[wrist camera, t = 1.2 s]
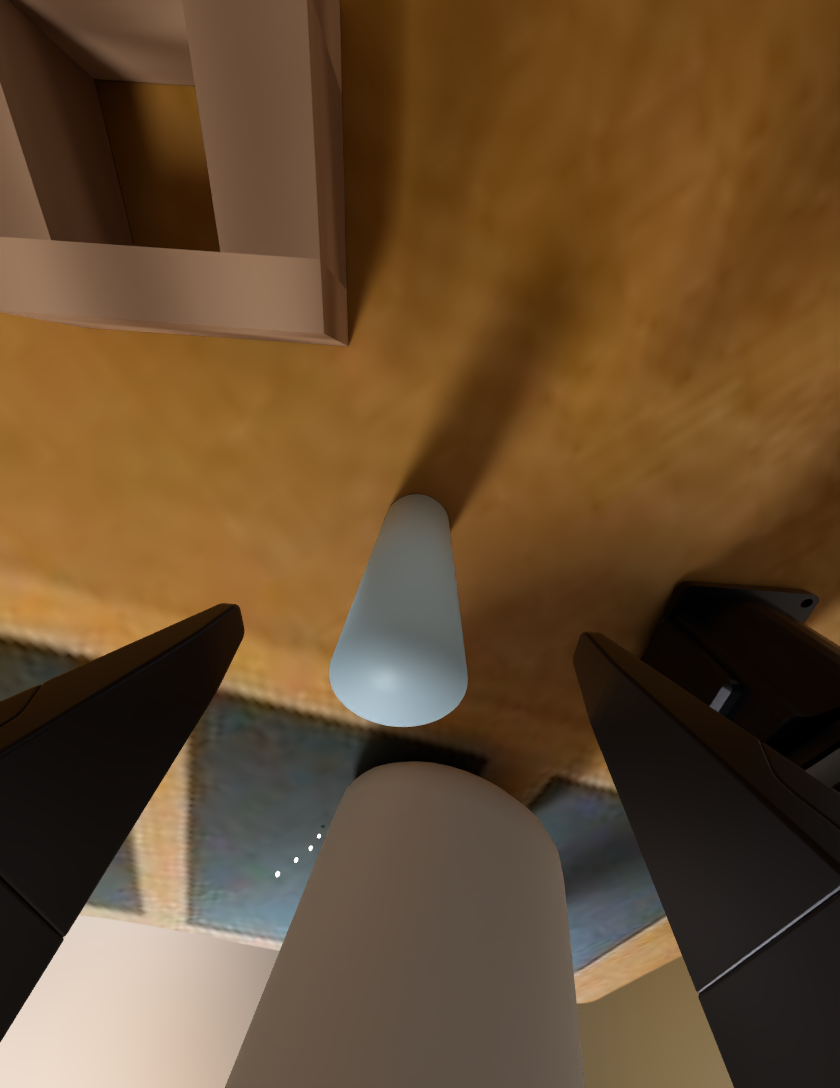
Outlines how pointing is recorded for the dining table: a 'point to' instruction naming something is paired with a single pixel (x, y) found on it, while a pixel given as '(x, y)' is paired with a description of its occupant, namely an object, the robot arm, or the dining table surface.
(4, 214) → the socket block
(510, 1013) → the jar
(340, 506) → the dining table surface
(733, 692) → the robot arm
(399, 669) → the dowel
